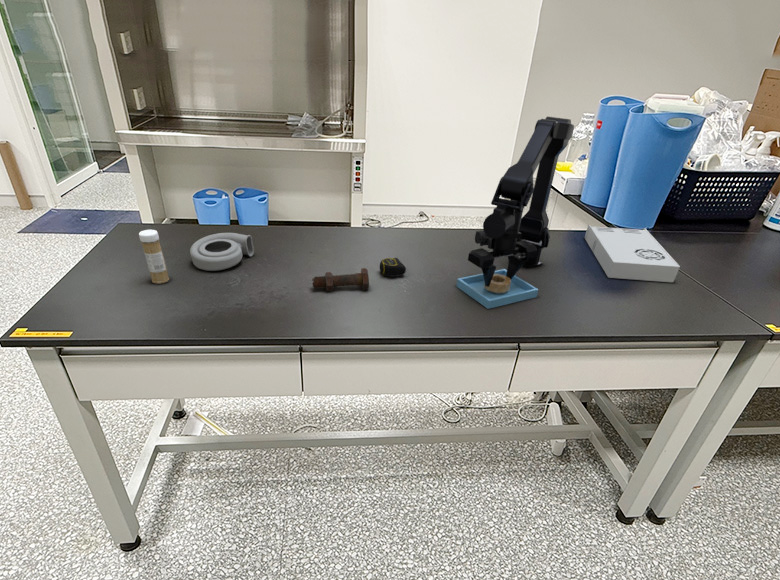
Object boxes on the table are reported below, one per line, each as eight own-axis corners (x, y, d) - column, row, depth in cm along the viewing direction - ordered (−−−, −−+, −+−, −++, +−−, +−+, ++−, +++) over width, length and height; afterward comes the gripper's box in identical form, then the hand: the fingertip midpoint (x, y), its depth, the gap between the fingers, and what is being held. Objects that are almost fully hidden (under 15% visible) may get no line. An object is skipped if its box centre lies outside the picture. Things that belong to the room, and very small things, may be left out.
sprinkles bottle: (169, 276, 138) (157, 228, 130) (169, 283, 135) (157, 234, 127) (151, 278, 137) (138, 229, 129) (151, 285, 134) (138, 236, 125)
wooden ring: (498, 279, 141) (499, 271, 139) (514, 290, 136) (516, 282, 134) (478, 284, 138) (480, 276, 137) (494, 294, 133) (496, 286, 132)
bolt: (313, 294, 137) (367, 290, 138) (313, 293, 132) (369, 289, 133) (311, 272, 136) (366, 269, 137) (311, 270, 131) (367, 266, 132)
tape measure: (406, 277, 143) (407, 265, 141) (383, 280, 141) (384, 267, 139) (398, 268, 148) (399, 255, 146) (376, 270, 146) (376, 258, 144)
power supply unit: (639, 241, 172) (644, 227, 169) (673, 282, 146) (680, 266, 143) (584, 238, 173) (588, 223, 170) (608, 278, 147) (613, 262, 144)
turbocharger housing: (182, 270, 144) (226, 280, 140) (176, 249, 140) (221, 258, 136) (217, 246, 156) (258, 254, 152) (213, 226, 152) (255, 234, 147)
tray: (503, 276, 146) (504, 268, 144) (536, 297, 136) (538, 289, 134) (456, 286, 140) (457, 278, 138) (487, 309, 130) (489, 301, 128)
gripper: (516, 212, 136) (505, 267, 145) (459, 221, 129) (452, 278, 138) (544, 226, 128) (531, 282, 138) (485, 236, 121) (476, 294, 131)
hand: (497, 283), depth 136 cm, fingers closed on wooden ring, 7 cm apart
